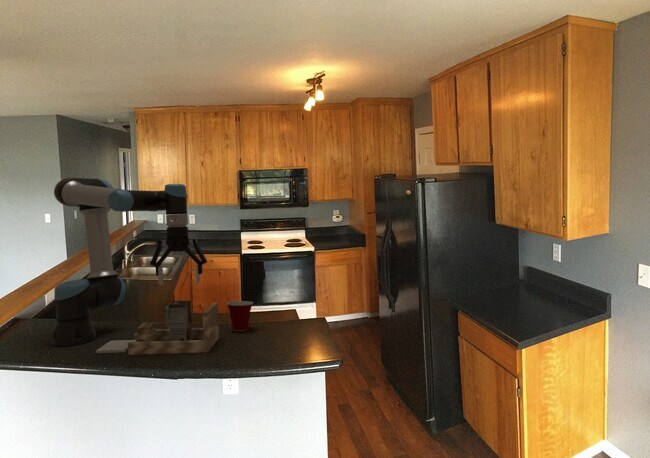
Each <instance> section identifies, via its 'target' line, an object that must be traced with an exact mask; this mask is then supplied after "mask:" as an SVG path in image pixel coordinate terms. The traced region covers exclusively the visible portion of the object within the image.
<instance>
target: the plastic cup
mask: <svg viewBox="0 0 650 458" xmlns="http://www.w3.org/2000/svg"><path fill="white" fill-rule="evenodd" d="M253 304H254V302H253V301H247V300H245V301H244V300H236V301H235V300H234V301H228V302H226V305H227V307H228V311H229V316H230V321H231V326H232V329H234V330H245V329H247V328H248V329H249V323H250V318H251V317H250V316H251V310H252V306H253ZM248 329H247V330H248ZM234 330H233V331H234Z"/></svg>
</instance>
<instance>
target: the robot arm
mask: <svg viewBox="0 0 650 458" xmlns="http://www.w3.org/2000/svg"><path fill="white" fill-rule="evenodd" d="M53 195H54V197H55V199H56V201H57V202H58V203H60V204H61V205H64V206H66V207H74V208H75V207H77V208H79V213H80V214H81V215H83V216H84V224H85V225H84V226H85V235H86V236H85V237H86V243H87V253H88V260H89V270H90V273H89V274H88V276H86V279H84V278H82V279H79V278H78V279H73V280H69V281H64V282H61V283H60V284H58V285H57V286H56V287H55V289H54V302H55V304H54V305H55V319H56V321H55V323H56V324H55V327H54V331H53V334H52V336H51V345H52V346H56V347H69V346H77V345H83V344H86V343H90V342H93V341H94V340H96V339H97V332H96V330H95V327H94V325H93V322H92V320H91V311H95V310H100V309H104V308H111V307H113V306H116V305H119V304H120V303H122V301H123V300H124V298H125V296H126V293H127V292H126V291H127V289H126V288H127V287H126V282H124V280H123V278H121V277H119V273H118V272H117V271H115V270H114V263H113V255H112V248H111V246H112V245H111V238H110V231H109V230H110V228H109V220H108V213H109V212H110V211H111V210H112V211H114V212H118V213H119V212H121V213H125V212H161V211H165V220H166V221H165V222H166V226H167V227H166V239H165V240H164V239H159V240H157V247H156V249H155V251H154V254H153V256H152V258H151V261H150V263H149V265H150V266H154V267H155V275H156V276H157V277H158V285H159V286H162V285H164V270H163V269H164V268H163V267H164V266H162V265H163V263H164V261H165V260H166V259H167V258H168V256H169V255H170V254H171V253H174V252H185V253H186V254H187V255H188V256H189V257H190V258H191V259H192V260H193V261H194V262H195V264H196V265H195V283H196V285H197V284H200V283H201V275H202V274H203V265H204V264H206V263H207V262H208V259H207V258H206V257H205V254H204V252H203V251H202V249H201V247H200V245H199V243H198V242H199V241H198V239H197V238H193V239H190V238H189V227H188V225H189V222H188V193H187V187H186V185H185V184H182V183H169V184H168V183H167V184H165V186H164V189H163V190H133V189H120V188H114V187H113V185H112V184H111V183H110V182H109V181H107V180H105V179H100V178H85V177H83V178H81V177H68V178H67V177H65V178H63V179H61V180H60V181H58V183H56V184H55V186H54V190H53ZM190 244H191V246H193V248H194V250H195V252H196V254H197V255H196V254H195V253H194V251H192V249H191V248H190V247H189V245H190ZM165 245H166V246H167V249H166V250H165V251H164V253H163V254H162V255H161V257H160V258H159V256H160V254H161V253H162V250H163V248H164V246H165Z"/></svg>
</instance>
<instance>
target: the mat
mask: <svg viewBox="0 0 650 458" xmlns="http://www.w3.org/2000/svg"><path fill="white" fill-rule="evenodd" d="M129 342H136V340H134V339H123V340H122V339H120V340H119V339H118V340H117V339H116V340H110V341H108V342H107V343H105V344H103V345H102V346H100V347H99V348H98V349H96V351H95V353H96V354H108V353H109V354H111V353H112V354H117V353H118V354H119V353H126V352H128V343H129Z"/></svg>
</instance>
